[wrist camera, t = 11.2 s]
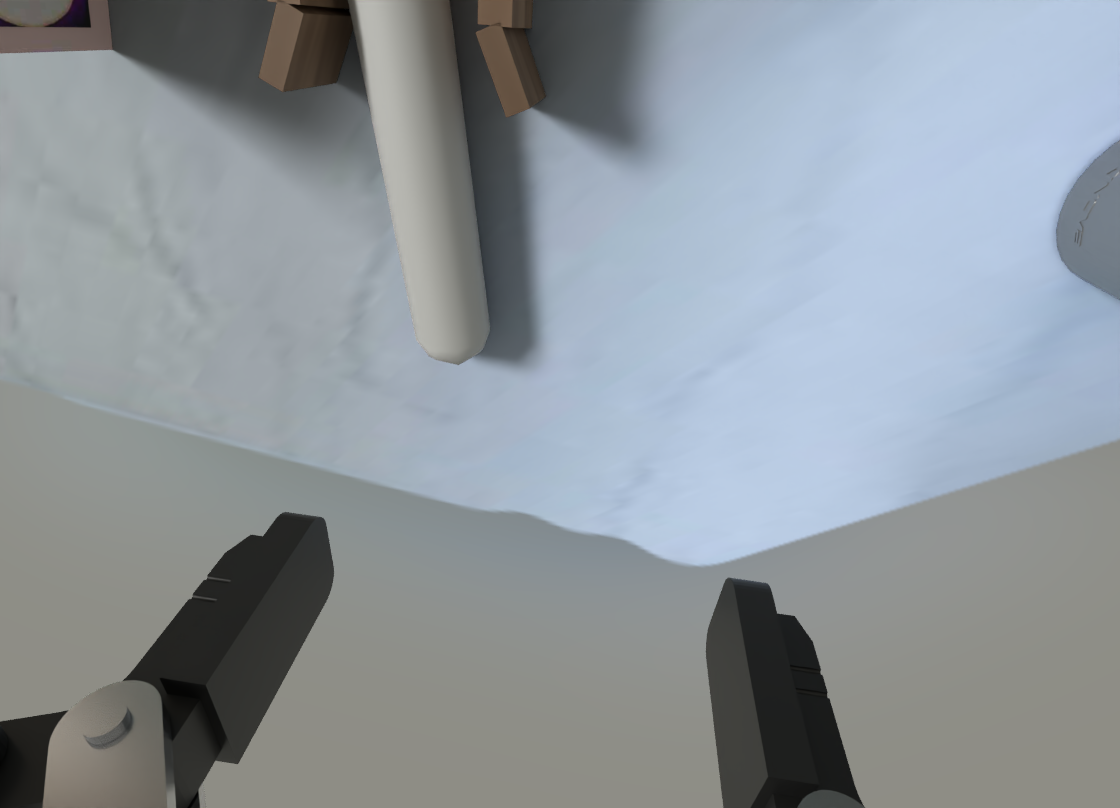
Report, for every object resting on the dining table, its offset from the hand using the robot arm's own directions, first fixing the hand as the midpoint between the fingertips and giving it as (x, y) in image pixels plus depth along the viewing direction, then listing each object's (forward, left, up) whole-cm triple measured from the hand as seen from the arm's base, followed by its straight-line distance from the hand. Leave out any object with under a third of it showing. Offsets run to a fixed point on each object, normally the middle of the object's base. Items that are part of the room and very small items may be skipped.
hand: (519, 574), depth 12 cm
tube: (+10, -2, -29) cm, 30 cm away
